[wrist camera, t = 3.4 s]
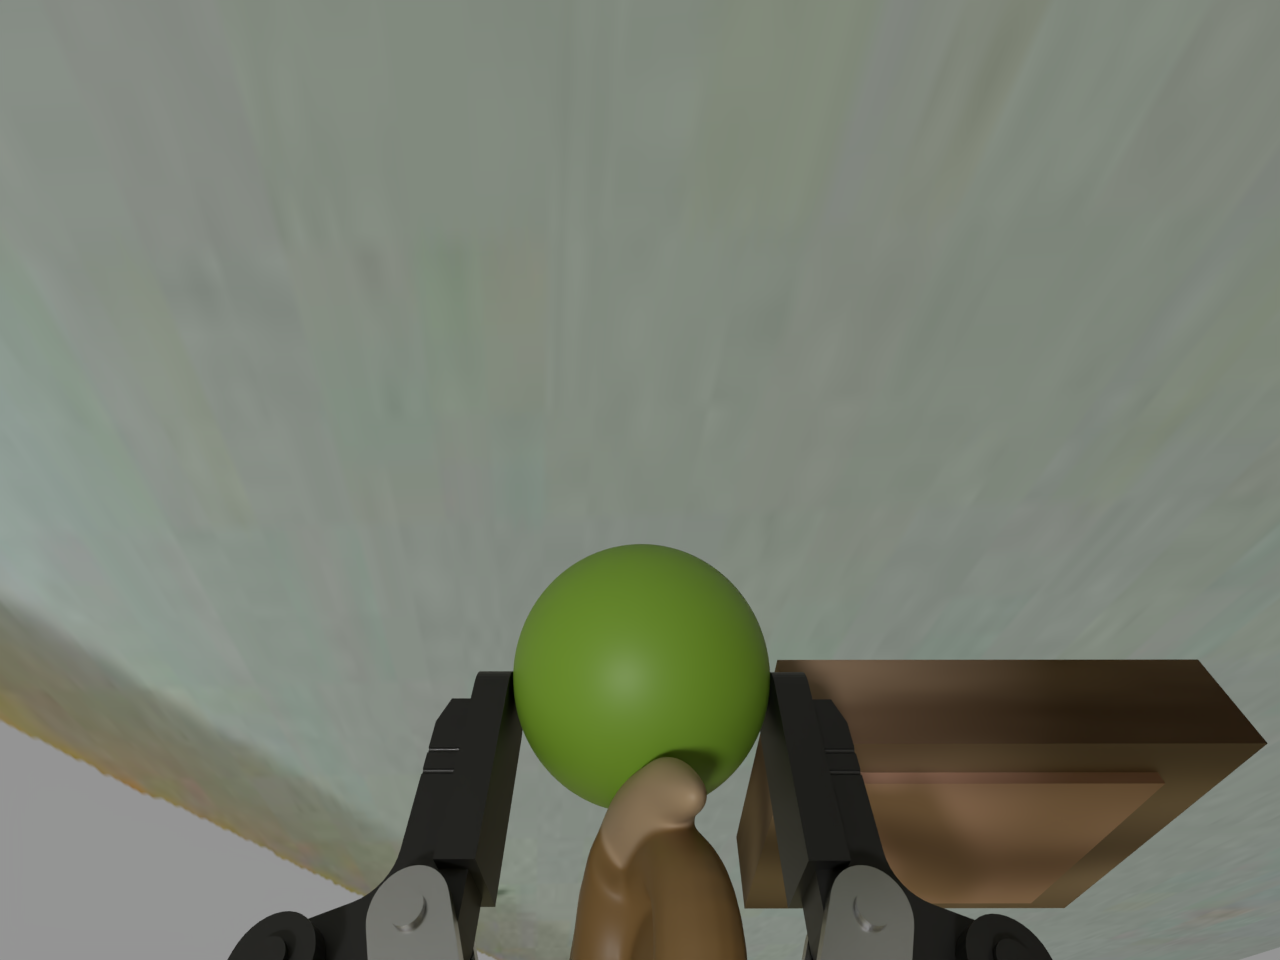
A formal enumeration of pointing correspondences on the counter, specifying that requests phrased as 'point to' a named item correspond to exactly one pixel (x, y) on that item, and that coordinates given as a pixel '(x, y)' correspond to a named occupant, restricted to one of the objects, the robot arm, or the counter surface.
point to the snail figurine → (645, 739)
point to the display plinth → (1012, 770)
